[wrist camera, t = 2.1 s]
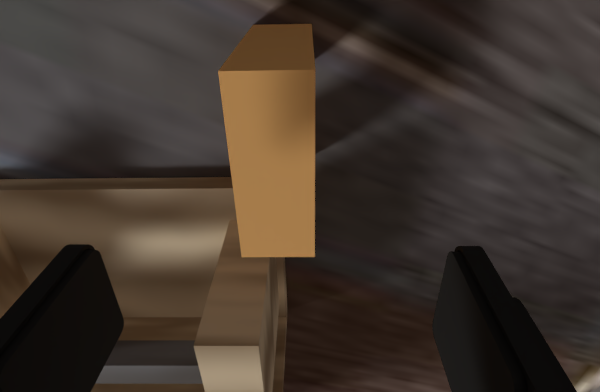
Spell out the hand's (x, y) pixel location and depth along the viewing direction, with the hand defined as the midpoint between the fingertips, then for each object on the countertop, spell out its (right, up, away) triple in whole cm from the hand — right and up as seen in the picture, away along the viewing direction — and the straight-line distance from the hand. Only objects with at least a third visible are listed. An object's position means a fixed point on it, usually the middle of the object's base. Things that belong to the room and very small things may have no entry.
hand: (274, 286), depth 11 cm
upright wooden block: (0, +8, +13) cm, 15 cm away
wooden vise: (-12, -2, +19) cm, 23 cm away
